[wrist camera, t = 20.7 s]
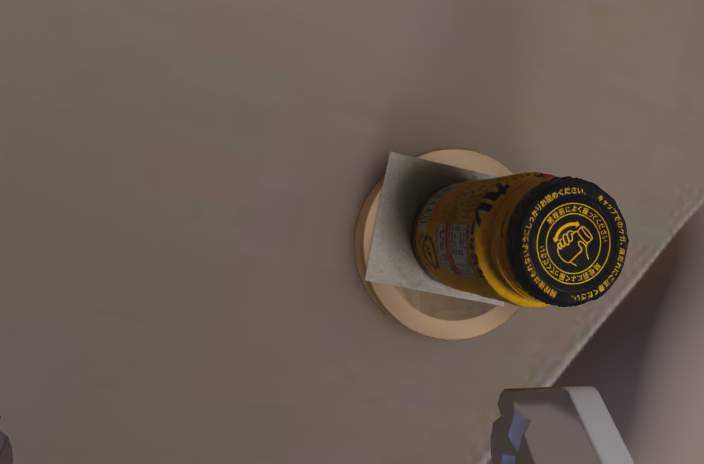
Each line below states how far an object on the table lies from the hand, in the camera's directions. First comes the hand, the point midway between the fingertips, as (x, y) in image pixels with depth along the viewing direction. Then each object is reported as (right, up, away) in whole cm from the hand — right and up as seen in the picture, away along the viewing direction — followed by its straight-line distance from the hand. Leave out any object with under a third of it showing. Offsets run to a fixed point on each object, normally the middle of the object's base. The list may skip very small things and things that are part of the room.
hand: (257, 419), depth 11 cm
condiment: (+7, +3, +27) cm, 28 cm away
